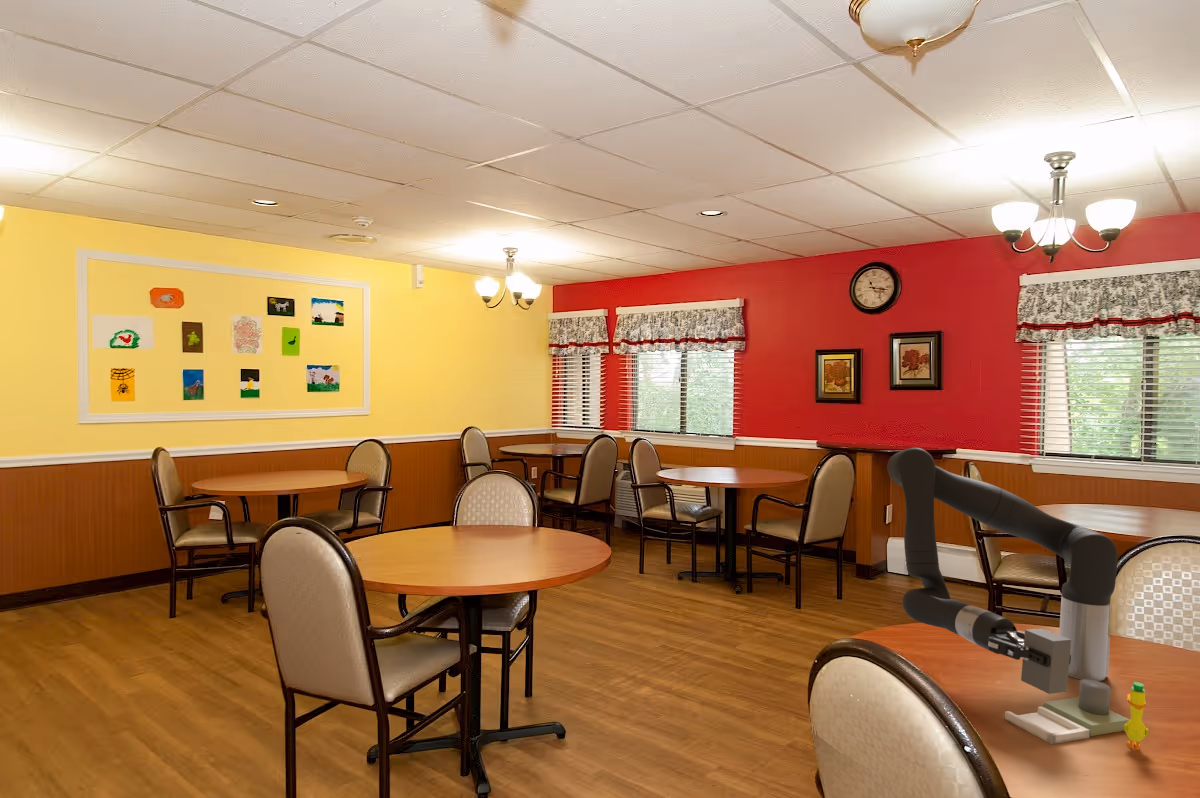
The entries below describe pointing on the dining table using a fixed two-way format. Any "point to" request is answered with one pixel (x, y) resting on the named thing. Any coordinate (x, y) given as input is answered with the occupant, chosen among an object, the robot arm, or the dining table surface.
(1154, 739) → the dining table surface
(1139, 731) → the toy figure
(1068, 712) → the cylinder and block set
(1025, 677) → the gray rectangular block
